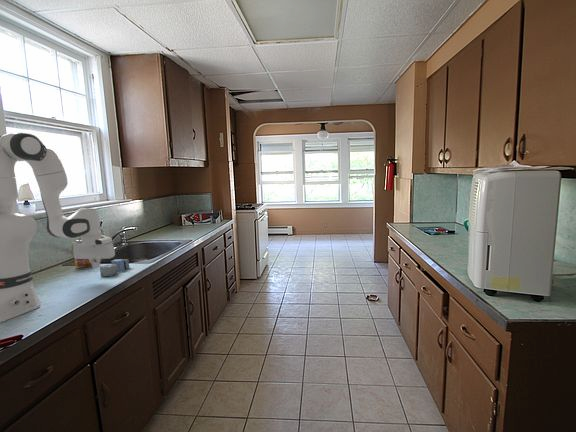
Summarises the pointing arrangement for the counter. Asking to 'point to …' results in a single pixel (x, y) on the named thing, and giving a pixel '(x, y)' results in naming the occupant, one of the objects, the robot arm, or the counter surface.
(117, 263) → the blue block
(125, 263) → the block
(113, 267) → the sliding jaw
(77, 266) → the candy box
